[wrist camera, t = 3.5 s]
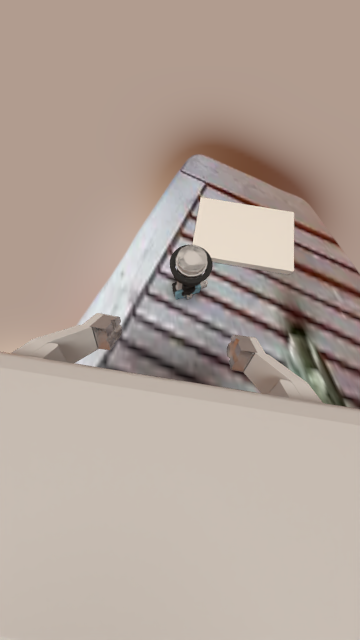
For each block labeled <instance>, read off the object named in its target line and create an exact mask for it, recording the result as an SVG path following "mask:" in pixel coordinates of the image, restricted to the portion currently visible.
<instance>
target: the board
mask: <svg viewBox="0 0 360 640" xmlns="http://www.w3.org/2000/svg"><path fill="white" fill-rule="evenodd" d="M192 245H196V246H199V247H201V248H203V249H205V250H206V251H207V252H208V253H209V255H210V257H211V259H212V262H216V263H222V264H227V265H233V266H239V267H245V268H251V269H257V270H263V271H269V272H275V273H281V274H287V275H289V274H291V273H292V272H294V212H288V211H282V210H276V209H270V208H264V207H257V206H251V205H245V204H239V203H233V202H227V201H221V200H215V199H209V198H202V197H201V199H200V205H199V210H198V216H197V222H196V227H195V233H194V238H193V244H192Z"/></svg>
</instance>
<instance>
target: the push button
mask: <svg viewBox="0 0 360 640" xmlns="http://www.w3.org/2000/svg"><path fill="white" fill-rule="evenodd" d="M175 266H177V270H176V268H175ZM170 269H171V272H172V274H173V275H174V278H175V279H176V280H177V282H176V283H173V284H172V287H173V292H174V295H175V298H176V299H180V298H183V297H186V296H187V298H186V299H190V298H192V295H193V294H196V293H199V292H200V289H202V288H203V287H206V286H207V284H208V282H207V280H205V279H206V278H207V277H208V276H209V275H210V273H211V270H212V259H211V257H210V255H209V253H208V252H207V251H206V250H205V249H203V248H201V247H199V246H196V245H185V246H182V247H180V248H178V249H177V250H176V251H175V252H174V253H173V254H172V256H171V259H170ZM204 271H205V273H204V274H203V275H202V273H203V272H204ZM204 280H205V281H204ZM204 282H206V283H204ZM203 285H205V286H203ZM189 297H190V298H189Z"/></svg>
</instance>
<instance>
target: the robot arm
mask: <svg viewBox="0 0 360 640" xmlns="http://www.w3.org/2000/svg"><path fill="white" fill-rule="evenodd" d="M120 322H121V320H120V317H118V316H112V315H106V314H100V313H97V314H95V315H94V316H93V317H91V318H90V319H89V320H87V321H86V322H85V323H84V324H82V325H77V326H74V327H71V328H68V329H64V330H61V331H58V332H55V333H51V334H48V335H45V336H42V337H38V338H35V339H32V340H31V341H29V342H28V343H26V344H24V345H23V346H21V347H20V348H18V349H17V350H15V351H13V352H12V353H6V352H0V640H360V409H355V408H349V407H343V406H336V405H330V404H324V403H323V402H322V401H321V400H320V399H319V397H318V396H317V395H316V393H315V392H314V391H313V389H312V388H311V387H310V385H309V384H308V383H307V382H305V381H304V380H303V379H301V378H300V377H299V376H297V375H296V374H294V373H293V372H292V371H290V370H289V369H287V368H286V367H285V366H283V365H282V364H281V363H279V362H278V361H276V360H275V359H274V358H272V357H271V356H270V355H267V354H266V353H265V352H264V350H263V348H262V347H261V345H260V344H259V342H258V340H257V339H256V338H255V337H246V336H239V335H232V337H231V342H230V343H229V344H228V346H227V356H228V357H229V358H230V360H229V363H230V367H231V369H232V370H237V371H243V372H244V373H245V374H246V376H247V377H248V378H249V379H250V380H251V382H252V383H253V384H254V385H255V386H256V387H257V389H258V390H259V391H260V392H261V393H255V392H249V391H243V390H237V389H230V388H224V387H218V386H212V385H205V384H199V383H193V382H187V381H180V380H174V379H168V378H162V377H155V376H149V375H143V374H137V373H130V372H124V371H118V370H112V369H105V368H99V367H93V366H87V365H80V364H74V363H75V362H77V361H79V360H80V359H82V358H84V357H86V356H87V355H89V354H91V353H92V352H94V351H96V350H97V349H105V350H111V349H112V347H113V346H114V345H115V341H116V340H118V339H119V338H120V336H121V333H122V327H121V326H120V325H119V324H120Z"/></svg>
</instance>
